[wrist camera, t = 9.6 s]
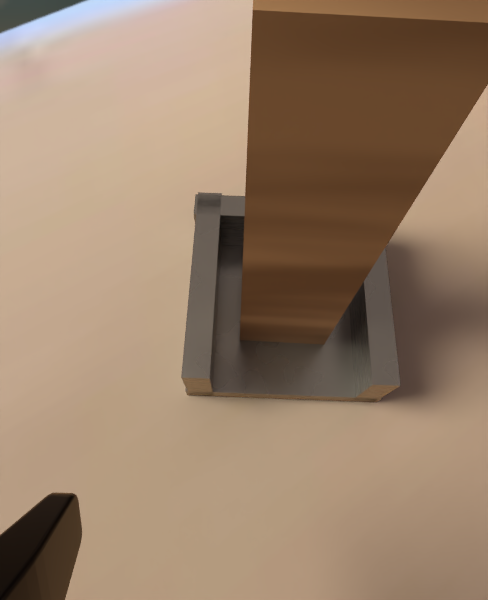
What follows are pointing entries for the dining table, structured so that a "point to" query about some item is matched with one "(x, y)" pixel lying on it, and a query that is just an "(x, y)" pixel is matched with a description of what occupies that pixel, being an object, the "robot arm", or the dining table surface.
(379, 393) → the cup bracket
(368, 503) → the dining table surface
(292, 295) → the tall brown wooden block
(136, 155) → the dining table surface
